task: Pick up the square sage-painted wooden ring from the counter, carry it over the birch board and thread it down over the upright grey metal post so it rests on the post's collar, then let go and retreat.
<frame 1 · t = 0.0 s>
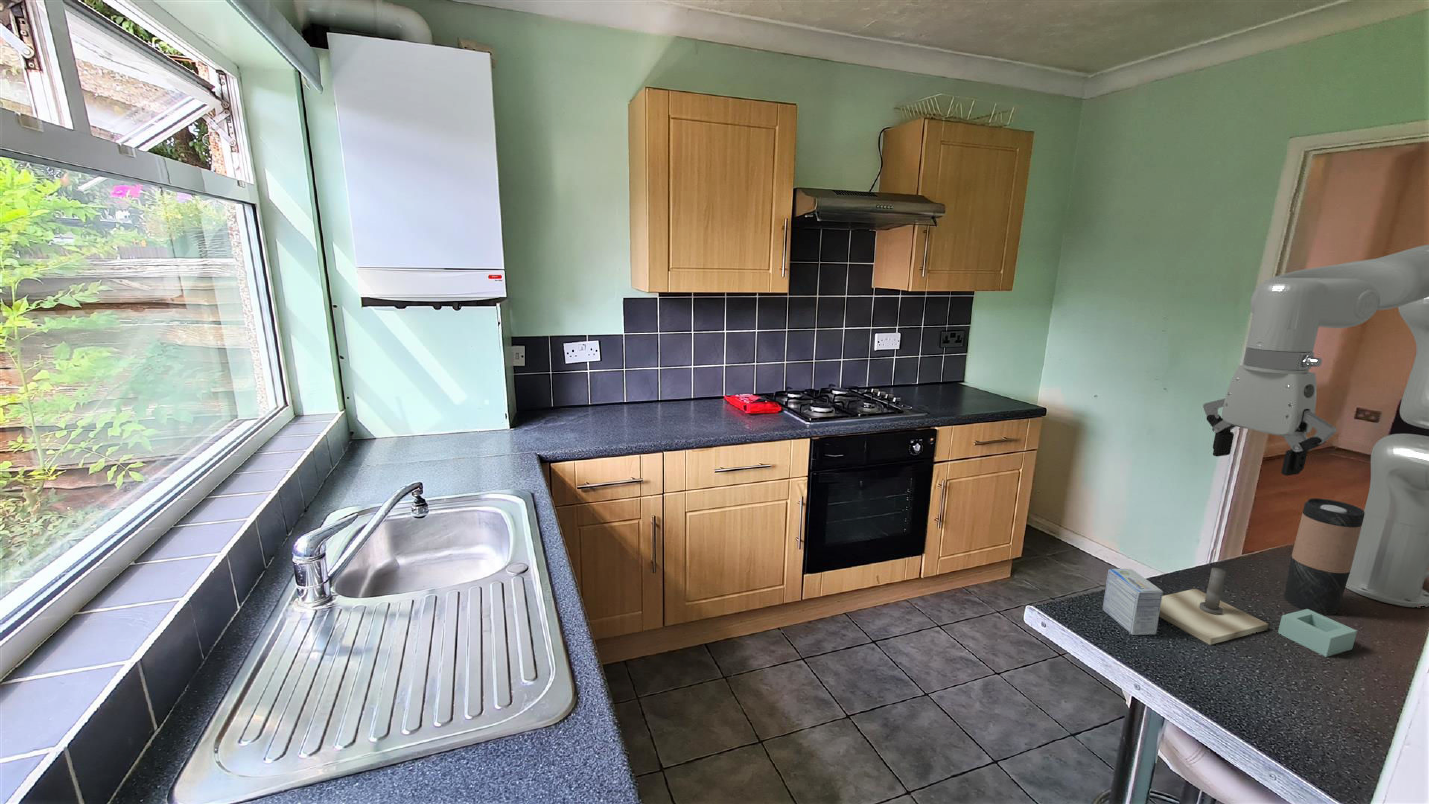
hand: (1254, 464, 93), 31 cm above the table, tool pointing down, fingers open, 9 cm apart
board: (1201, 617, 105), on the table
travel mug: (1309, 605, 109), on the table
ring: (1314, 640, 98), on the table
medicine box: (1127, 623, 104), on the table
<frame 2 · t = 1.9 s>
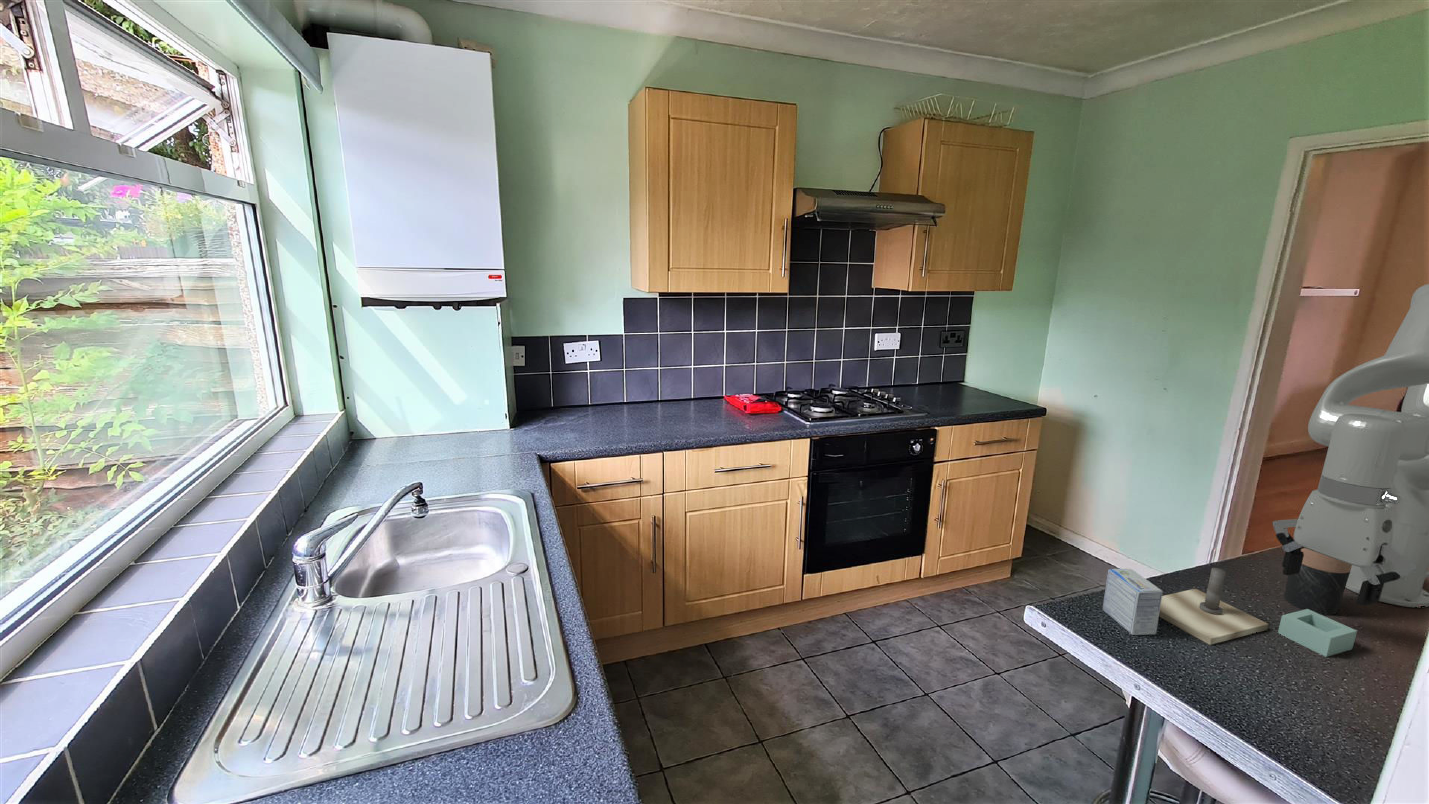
hand: (1326, 587, 95), 10 cm above the table, tool pointing down, fingers open, 9 cm apart
nothing on the table moved.
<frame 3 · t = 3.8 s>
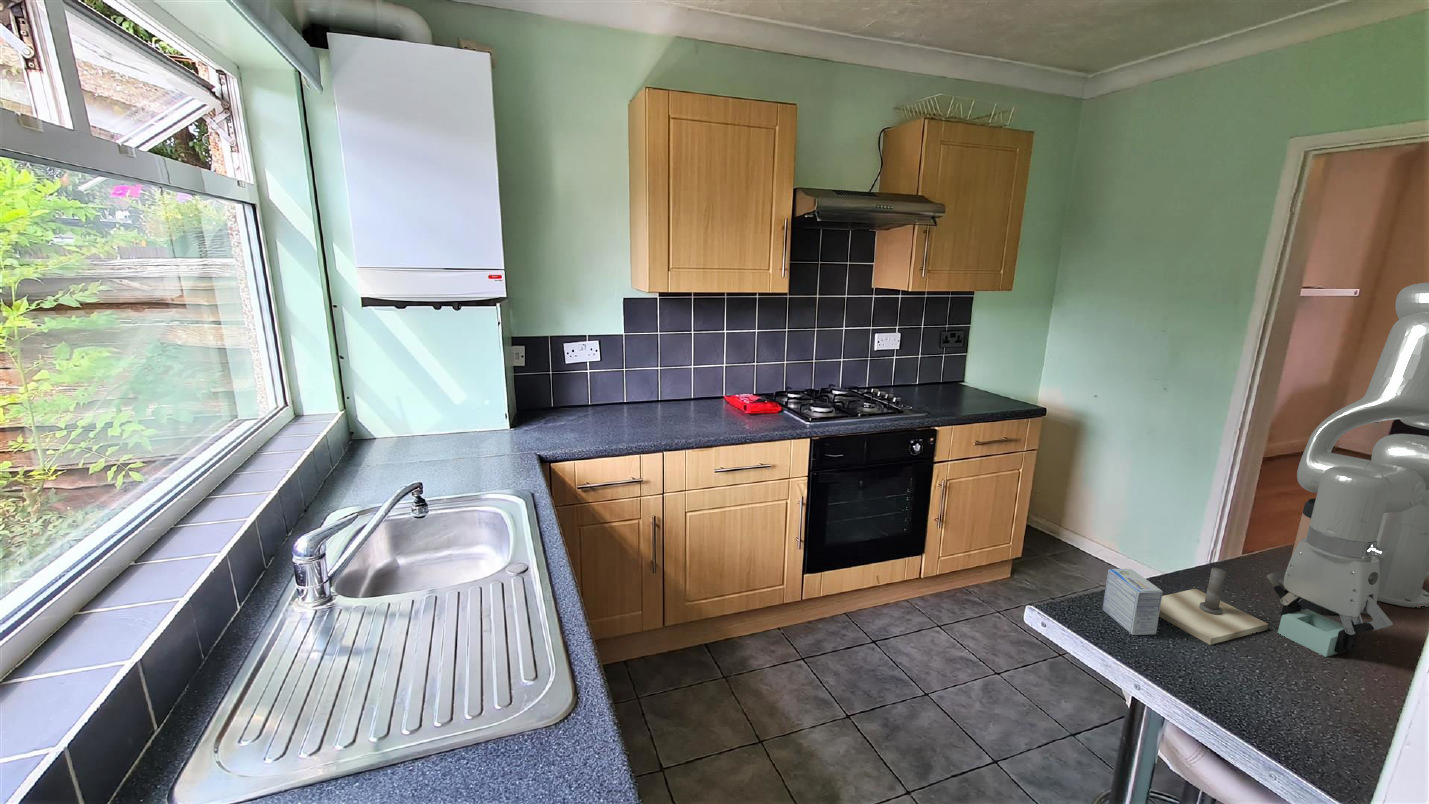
hand: (1314, 637, 98), 1 cm above the table, tool pointing down, fingers closed on ring, 6 cm apart
ring: (1313, 640, 98), on the table, touching gripper
everything else where it was.
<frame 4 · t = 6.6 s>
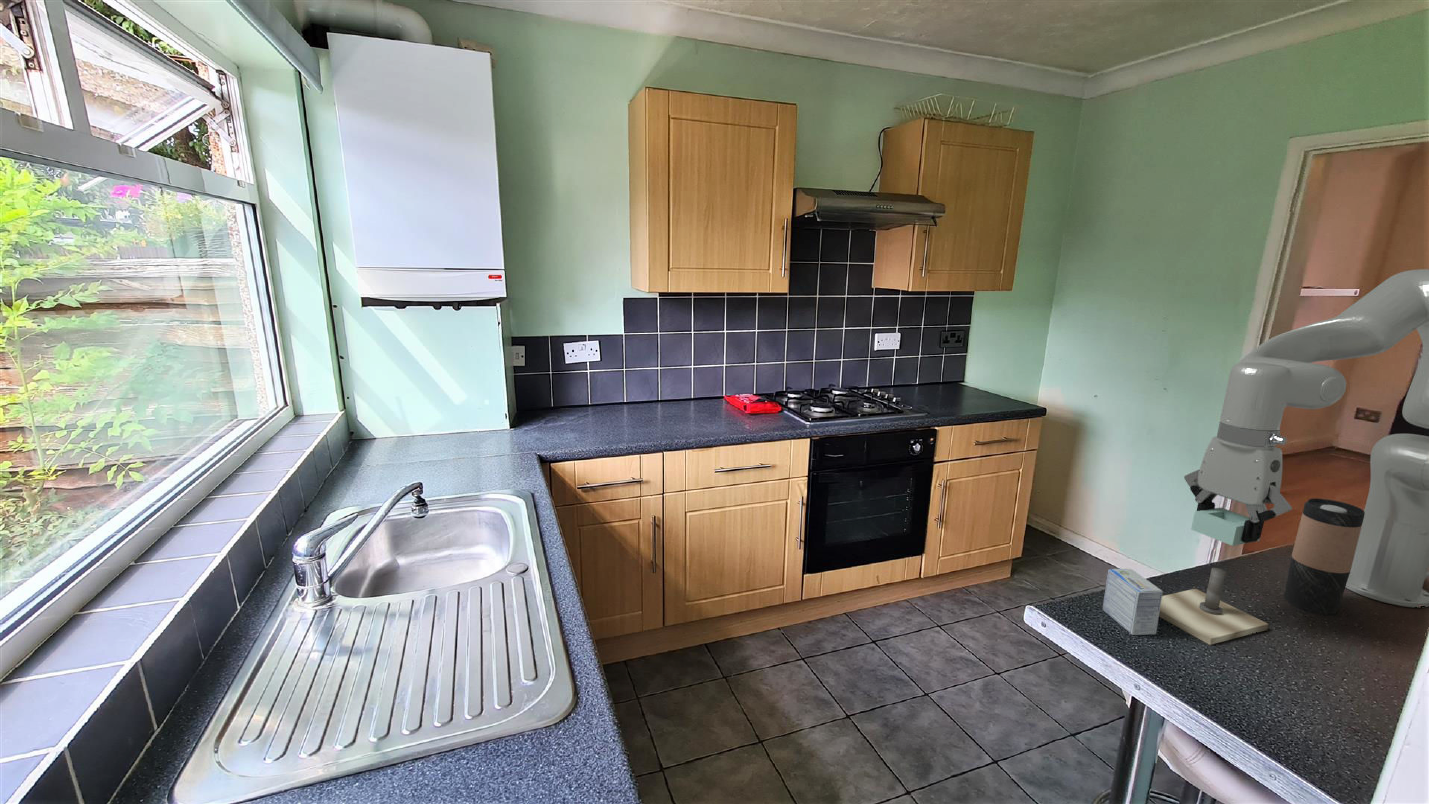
hand: (1225, 531, 101), 17 cm above the table, tool pointing down, fingers closed on ring, 6 cm apart
ring: (1224, 535, 102), point 16 cm above the table, touching gripper
everything else where it was.
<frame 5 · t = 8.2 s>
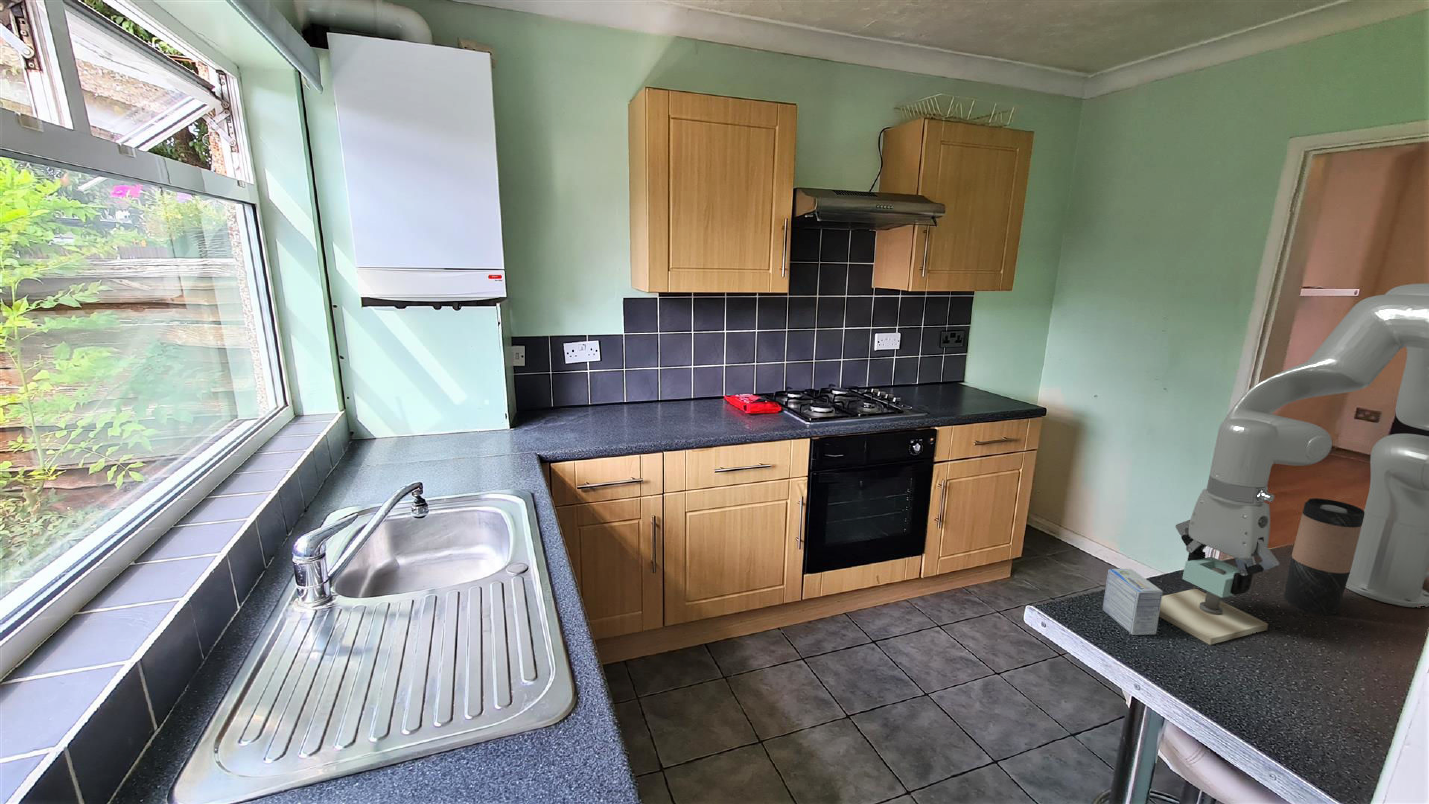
hand: (1215, 581, 104), 7 cm above the table, tool pointing down, fingers closed on ring, 6 cm apart
ring: (1214, 585, 104), point 6 cm above the table, touching gripper
everything else where it was.
when the fingers open (4 cm above the table, at t = 9.7 s): ring drops 2 cm, resting on board.
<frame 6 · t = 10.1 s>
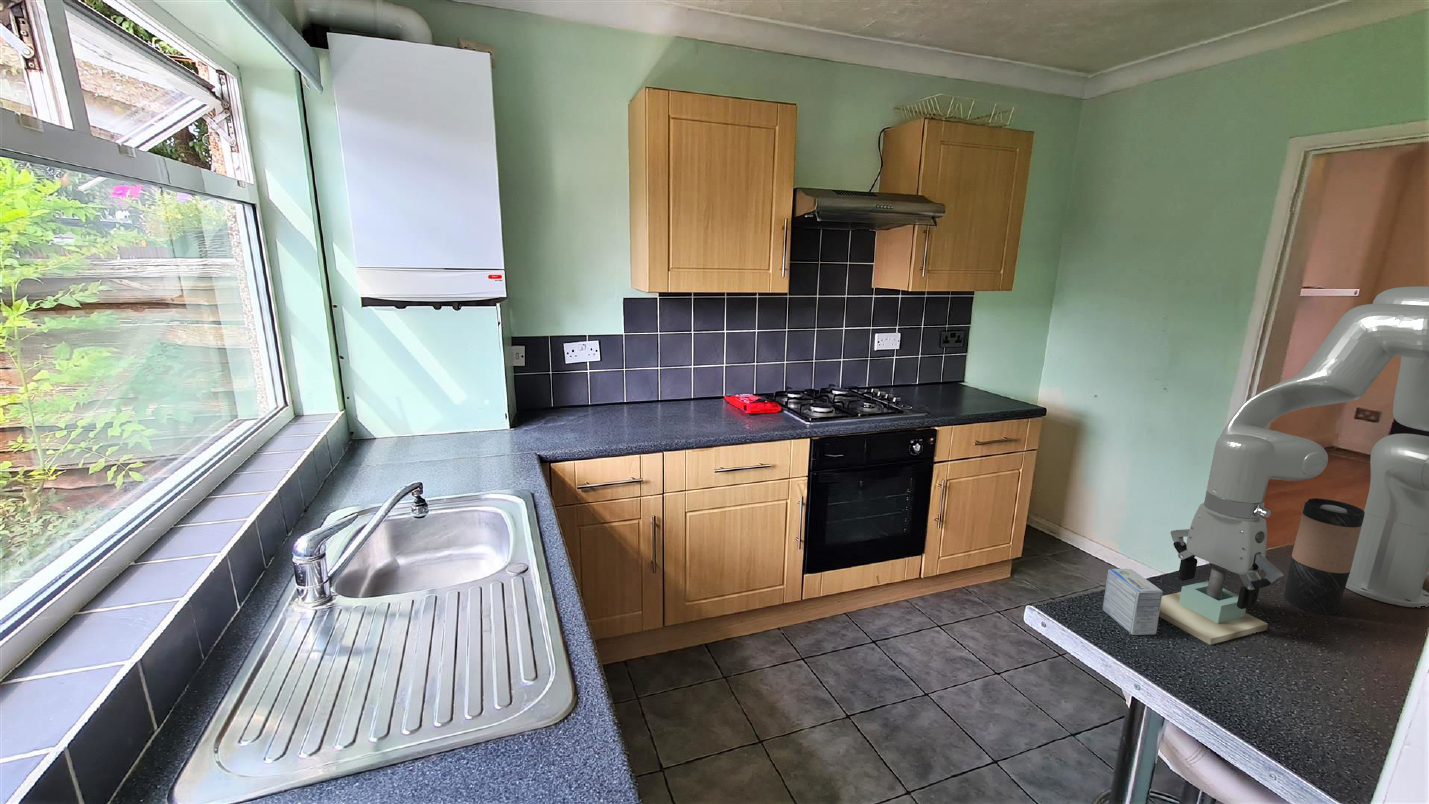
hand: (1214, 592, 104), 5 cm above the table, tool pointing down, fingers open, 9 cm apart
ring: (1210, 609, 105), point 1 cm above the table, touching board
everything else where it was.
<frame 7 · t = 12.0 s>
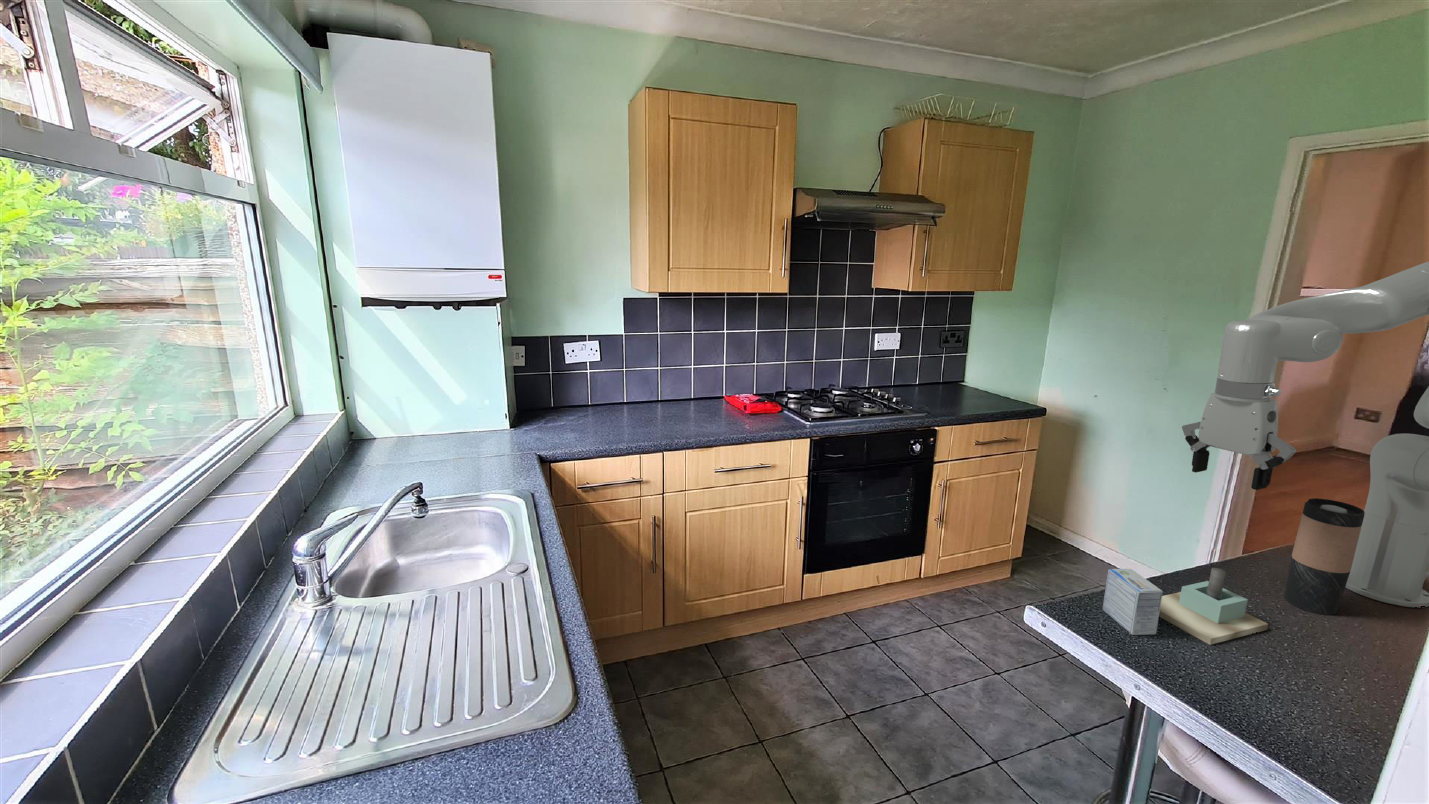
hand: (1227, 479, 107), 24 cm above the table, tool pointing down, fingers open, 9 cm apart
nothing on the table moved.
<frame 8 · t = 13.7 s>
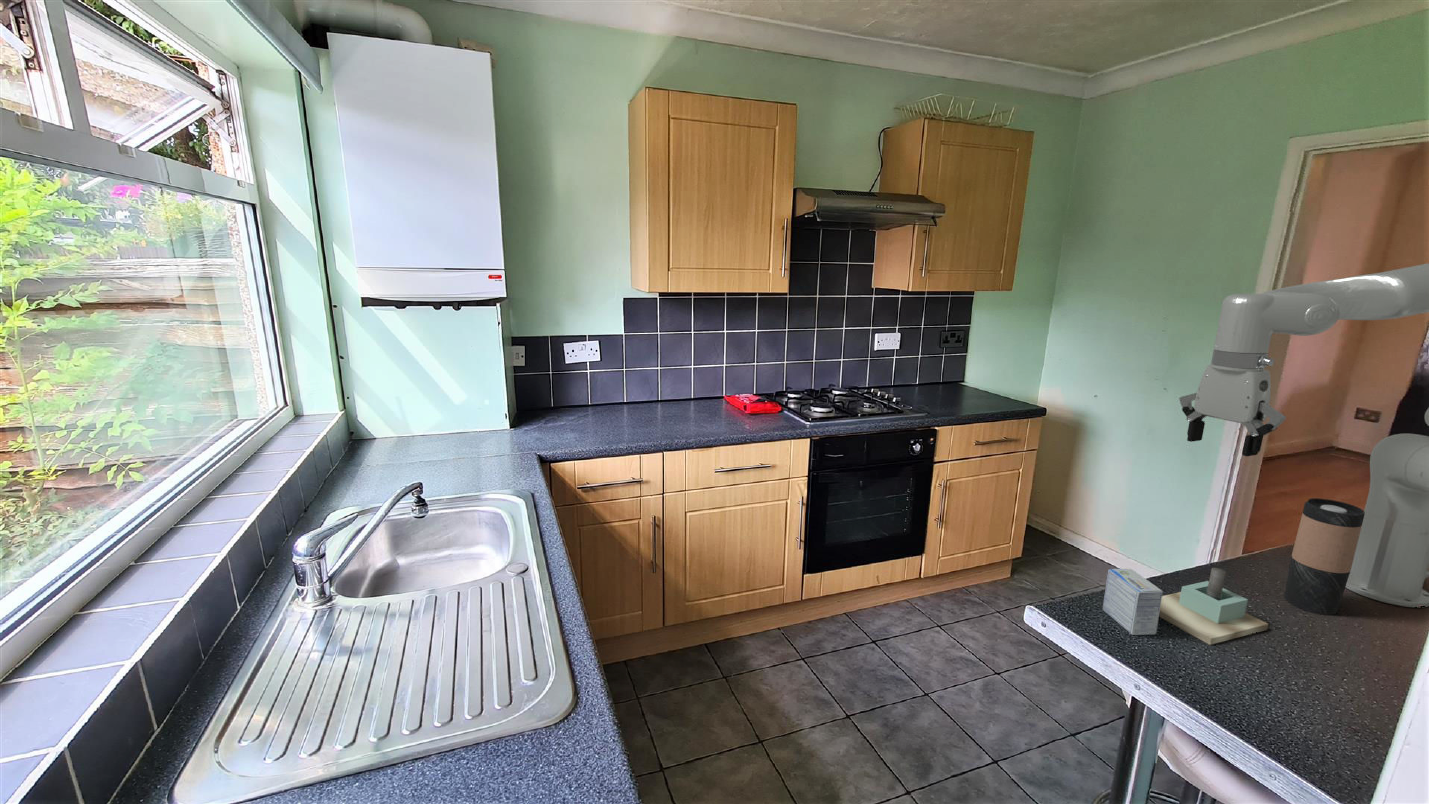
hand: (1220, 447, 111), 28 cm above the table, tool pointing down, fingers open, 9 cm apart
nothing on the table moved.
at the end: ring 0.0 cm from the target spot on the board, point 1.2 cm above the board's base; the gripper is holding nothing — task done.
